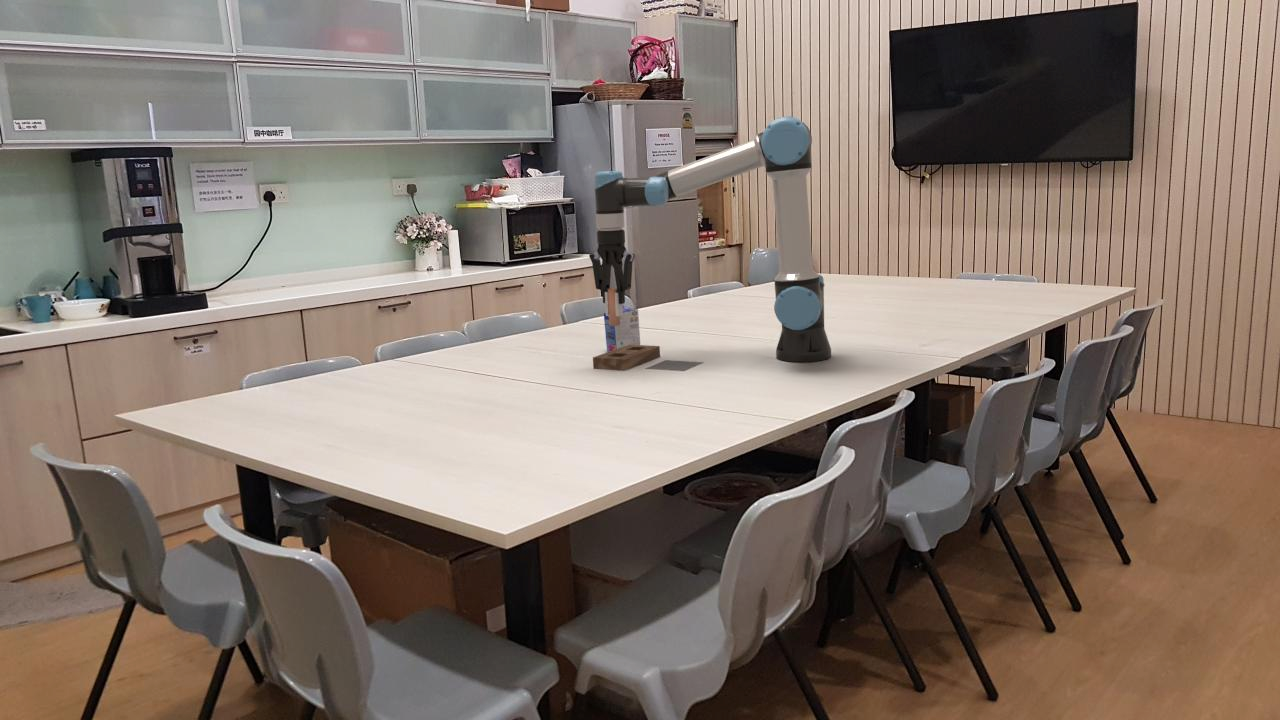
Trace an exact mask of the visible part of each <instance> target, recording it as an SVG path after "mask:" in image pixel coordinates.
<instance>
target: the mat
mask: <svg viewBox="0 0 1280 720" xmlns="http://www.w3.org/2000/svg"><path fill="white" fill-rule="evenodd" d="M701 364H704V362H703V361H688V360H687V361H686V360H685V361H684V360H671V359H669V360H667V359H664V360H663V361H660V362H657V363H655V364H652V365H649V366H648V367H645V368H644V369H645V370H660V371H662V370H663V371H676V372H686V371H688V370H690V369H692V368H695V367H697V366H700V365H701Z"/></svg>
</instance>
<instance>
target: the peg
mask: <svg viewBox="0 0 1280 720" xmlns="http://www.w3.org/2000/svg"><path fill="white" fill-rule="evenodd" d="M616 291H617V287H616V288H615V287H613V288H612V287H610V289H608V305H609V325H610V326H619V325H620V316H616V311H615V292H616Z"/></svg>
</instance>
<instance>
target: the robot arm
mask: <svg viewBox="0 0 1280 720" xmlns="http://www.w3.org/2000/svg"><path fill="white" fill-rule="evenodd" d="M812 144H813V137H812V133H811V130H810V128H809V127H808V126H807V125H806V123H804V122H803V121H802V120H800V119H798V118H797V117H794V116H782V117H778V118H776V119H774V120H771V122H769V124H768V125H767V126H766V127H765V128H764V130H763V131H762V132H760V133H757V134H756V135H755V137H754V139H752V140H749V141H746V142H743V143H741V144H737V145H735V146H733V147H729V148H727V149H724V150H722V151H719V152H717V153H714V154H710V155H708V156H705V157H703V158H700V159H698V160H694V161H692V162H689V163H686V164H684V165H683V164H682V165H681V166H678V167H675V168H673V169H670V170H666V171H664V172H661V173H659V174H655V175H654V176H645V177H624V176H623V172H622V171H620V170H612V171H611V170H610V171H609V170H608V171H597V172H596V173H595V175H594V196H595V197H594V198H595V218H596V219H595V221H596V229H598V230H597V232H596V238H597V239H596V240H597V241H596V242H597V244H598V245H597V246H598V247H597V249H596V251H595V252H593V253H590V254H589V260H590V261H591V262H592V263H591V264H592V271H593V272H592V273H593V276H594V277H593V279H594V285H595V289H596V290H600V292H601V293H602V302H603V304H605V313H606V316H609V305H608V289H610V288H611V275H612V274H611V272H612V269H613V272H614V277H615V286H616V288H617V291H616V292H615V311H616V316H621V315H623V305H624V304H625V303H626V297H625V296H626V291H628V290H631V288H632V276H633V263H634V259H635V257H636V256H635V254H634V253H630V252H628V251H627V248H626V246H625V242H626V235H625V234H626V233H625V232H626V231H625V230H624V229H623V228H625V210H624V209H625V207H657V206H665V205H666V204H667V202H668V201H670V200H672V199H675V198H677V197H680V196H683V195H686V194H690V193H691V192H694V191H697V190H700V189H703V188H705V187H708V186H711V185H714V184H717V183H720V182H723V181H725V180H728V179H731V178H734V177H737V176H740V175H742V174H746V173H748V172H750V171H754V170H756V169H760V168H761V167H764V168H765V174H766V176H768V177H769V178H770V179H771V180H772V191H773V204H774V213H775V214H774V217H775V228H776V242H777V255H778V256H777V257H778V267H779V268H778V269H779V270H778V271H779V272H778V274H777V275H776V276H775V277H774V291H775V301H774V304H773V308H774V314H775V316H776V318H777V320H778V321H779V323H781V332H780V336H779V339H778V342H777V345H776V348H775V349H776V350H775V356H776V357H775V358H776V359H778V360H780V361H784V362H791V363H792V362H793V363H795V362H796V363H800V362H801V363H805V362H806V363H807V362H818V361H824V360H827V359H831V357H832V347H831V344H830V341H829V339H828V335H827V332H826V330H825V329H826V328H825V291H824V290H825V289H824V288H825V283H824V276H822V275H821V274H819V273H818V272H817V271H815V270H814V267H813V266H814V265H813V255H812V240H811V238H812V237H811V225H810V223H811V222H810V212H809V211H810V210H809V198H808V184H807V183H808V182H807V176H808V174H810V171H812V153H811V147H812ZM623 260H624V262H623Z"/></svg>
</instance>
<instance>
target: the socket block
mask: <svg viewBox="0 0 1280 720" xmlns="http://www.w3.org/2000/svg"><path fill="white" fill-rule="evenodd" d="M660 348H661V347H660V345H645V344H643V345H642V344H640V345H627V346H624V347H621V348H618V349H616V350H613V351H610V352H607V351H606V352H605V353H601V354H599V355H596V356H593V357H592V366H593V369H594V370H607V371H608V370H609V371H623V372H624V371H628V370H630V369H634V368H635V367H638V366H641V365H644V364H646V363H648V362H651V361H653V360H655V359H658V358H660V357H661V351H660V350H661V349H660Z"/></svg>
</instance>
